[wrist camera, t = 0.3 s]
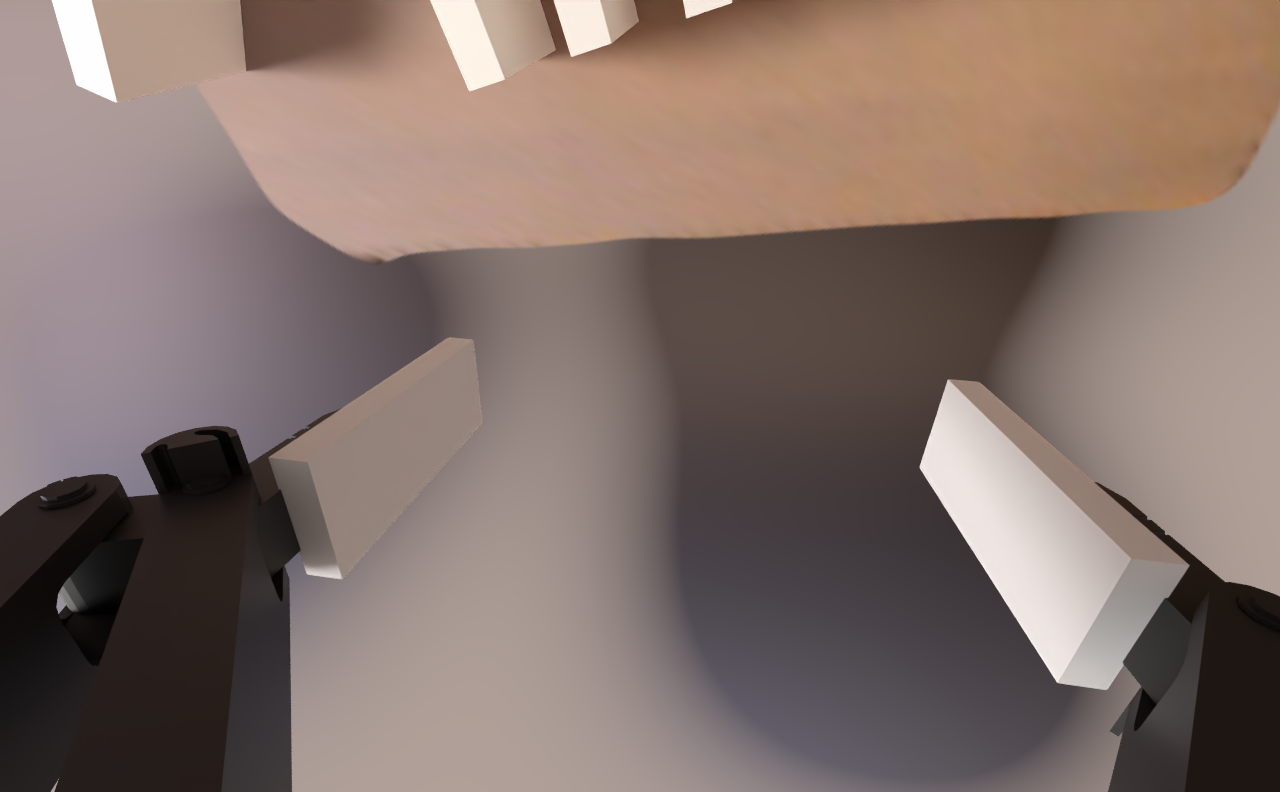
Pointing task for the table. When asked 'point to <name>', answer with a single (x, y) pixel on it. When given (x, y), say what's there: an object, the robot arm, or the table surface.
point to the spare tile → (150, 44)
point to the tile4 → (702, 6)
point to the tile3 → (594, 22)
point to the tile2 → (494, 37)
